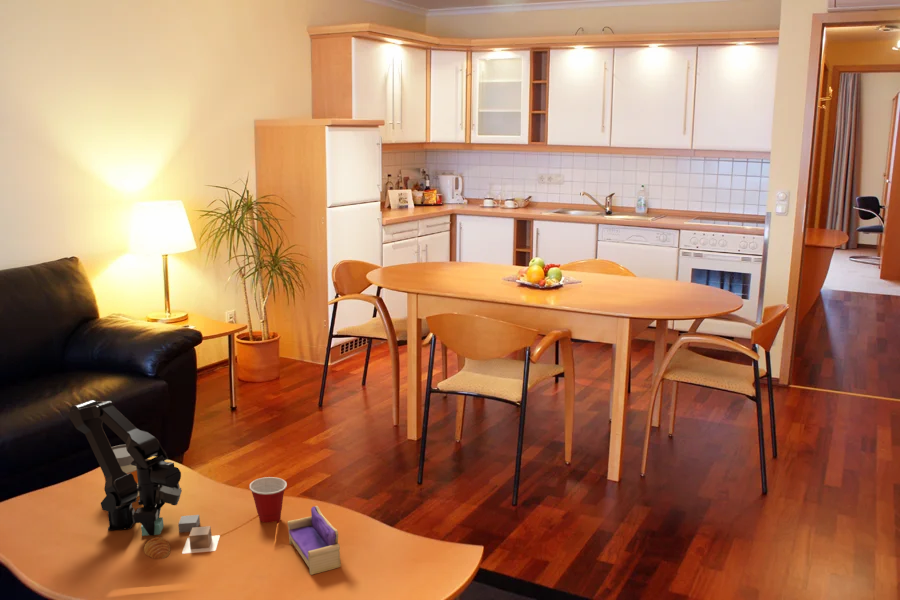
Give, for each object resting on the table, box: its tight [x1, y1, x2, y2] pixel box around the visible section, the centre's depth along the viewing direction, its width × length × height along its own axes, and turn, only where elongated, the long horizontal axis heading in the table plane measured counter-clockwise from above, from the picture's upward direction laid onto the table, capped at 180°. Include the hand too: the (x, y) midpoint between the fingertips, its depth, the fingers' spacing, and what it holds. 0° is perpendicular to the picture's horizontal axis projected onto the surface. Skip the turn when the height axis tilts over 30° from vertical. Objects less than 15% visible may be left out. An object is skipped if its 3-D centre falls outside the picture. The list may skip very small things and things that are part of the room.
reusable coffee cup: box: [103, 443, 140, 498], centre depth 267 cm, size 13×13×15 cm
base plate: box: [181, 534, 221, 555], centre depth 232 cm, size 9×9×1 cm
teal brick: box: [140, 516, 165, 537], centre depth 240 cm, size 5×5×4 cm
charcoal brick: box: [177, 514, 201, 533], centre depth 242 cm, size 5×5×4 cm
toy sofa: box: [287, 505, 341, 576], centre depth 226 cm, size 21×9×10 cm, turn 26°
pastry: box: [143, 536, 171, 560], centre depth 228 cm, size 9×7×4 cm
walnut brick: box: [188, 525, 213, 549], centre depth 231 cm, size 5×5×4 cm
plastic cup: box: [249, 476, 288, 524], centre depth 246 cm, size 11×11×12 cm
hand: (154, 531), depth 241 cm, fingers closed on teal brick, 5 cm apart
